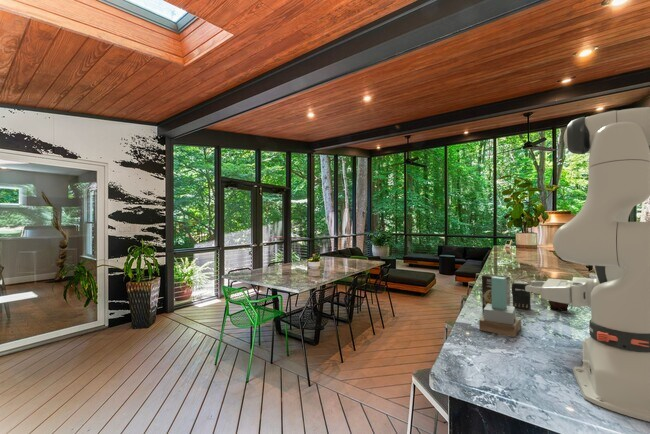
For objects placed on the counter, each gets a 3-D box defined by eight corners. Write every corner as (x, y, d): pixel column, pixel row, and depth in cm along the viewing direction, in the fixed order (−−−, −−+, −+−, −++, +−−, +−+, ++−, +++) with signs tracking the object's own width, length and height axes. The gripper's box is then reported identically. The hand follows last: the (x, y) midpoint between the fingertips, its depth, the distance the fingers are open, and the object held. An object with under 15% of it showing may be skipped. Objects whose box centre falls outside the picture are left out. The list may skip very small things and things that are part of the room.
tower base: (514, 338, 101) (514, 326, 101) (479, 330, 108) (479, 319, 108) (521, 329, 109) (520, 318, 109) (488, 322, 116) (487, 312, 116)
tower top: (513, 324, 102) (512, 313, 102) (484, 320, 108) (483, 309, 108) (515, 317, 110) (514, 306, 110) (487, 313, 115) (487, 303, 115)
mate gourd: (570, 312, 124) (569, 276, 124) (547, 310, 128) (546, 275, 129) (567, 308, 131) (566, 273, 131) (545, 305, 135) (544, 272, 135)
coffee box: (481, 313, 126) (480, 275, 126) (487, 310, 130) (486, 273, 130) (506, 318, 119) (504, 278, 119) (511, 314, 123) (510, 276, 124)
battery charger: (511, 307, 133) (510, 282, 133) (513, 305, 136) (512, 280, 136) (530, 310, 128) (529, 284, 128) (531, 308, 131) (530, 282, 131)
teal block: (504, 310, 106) (503, 279, 106) (491, 307, 109) (491, 277, 109) (506, 307, 109) (506, 277, 109) (494, 305, 112) (494, 276, 112)
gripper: (581, 276, 102) (532, 272, 111) (578, 286, 87) (522, 281, 96) (582, 295, 102) (533, 289, 111) (579, 308, 87) (522, 300, 96)
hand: (527, 285), depth 103 cm, fingers open, 8 cm apart
